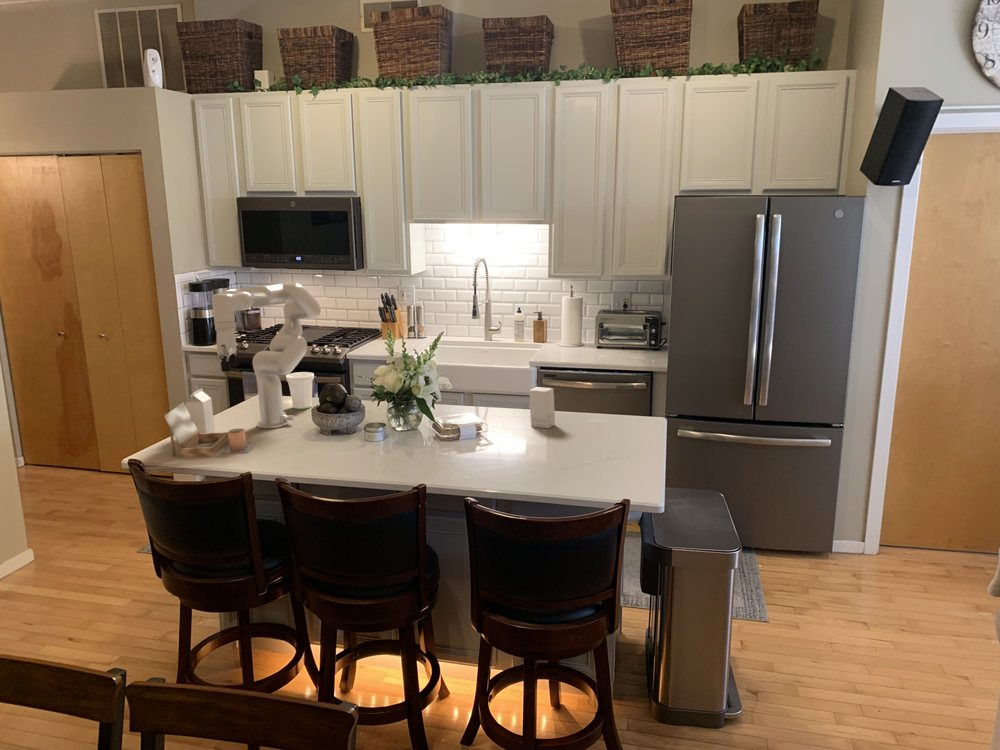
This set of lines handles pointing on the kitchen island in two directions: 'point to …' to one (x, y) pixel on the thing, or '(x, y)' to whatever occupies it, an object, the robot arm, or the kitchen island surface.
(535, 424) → the skincare box
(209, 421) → the milk carton
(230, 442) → the pot
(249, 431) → the kitchen island surface
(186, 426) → the box
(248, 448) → the slate tile
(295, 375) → the cup
